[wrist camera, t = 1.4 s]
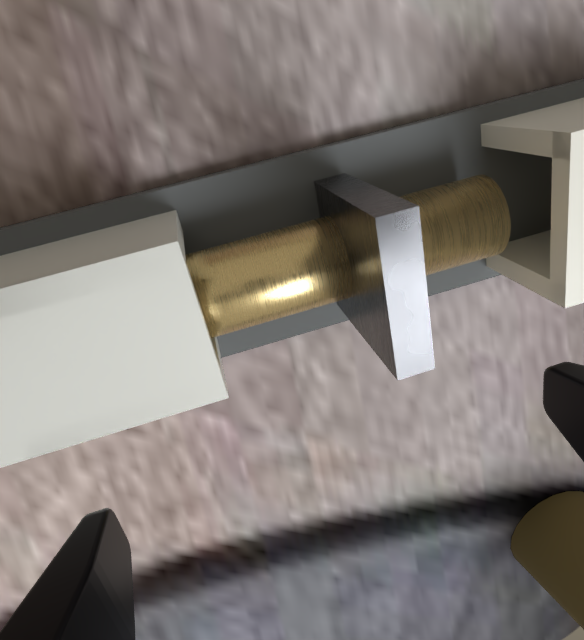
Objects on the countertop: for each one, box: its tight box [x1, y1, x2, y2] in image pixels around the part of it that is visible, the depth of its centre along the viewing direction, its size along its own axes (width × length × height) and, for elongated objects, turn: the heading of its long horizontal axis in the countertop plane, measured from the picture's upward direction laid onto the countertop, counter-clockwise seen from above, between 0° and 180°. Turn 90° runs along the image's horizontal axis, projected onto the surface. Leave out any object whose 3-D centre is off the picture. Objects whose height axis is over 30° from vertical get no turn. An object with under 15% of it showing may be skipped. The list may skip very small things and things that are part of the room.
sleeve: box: [0, 210, 229, 468], centre depth 17 cm, size 7×5×4 cm
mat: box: [0, 79, 584, 358], centre depth 20 cm, size 26×7×1 cm, turn 102°
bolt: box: [185, 173, 511, 380], centre depth 16 cm, size 17×5×6 cm, turn 102°
